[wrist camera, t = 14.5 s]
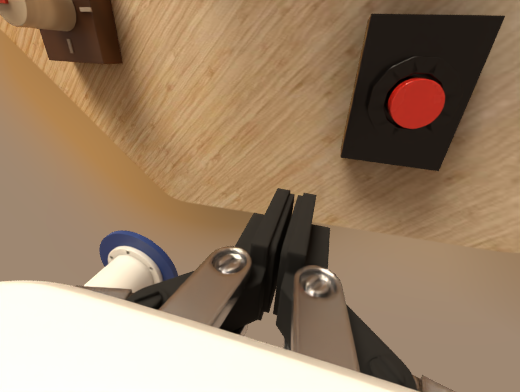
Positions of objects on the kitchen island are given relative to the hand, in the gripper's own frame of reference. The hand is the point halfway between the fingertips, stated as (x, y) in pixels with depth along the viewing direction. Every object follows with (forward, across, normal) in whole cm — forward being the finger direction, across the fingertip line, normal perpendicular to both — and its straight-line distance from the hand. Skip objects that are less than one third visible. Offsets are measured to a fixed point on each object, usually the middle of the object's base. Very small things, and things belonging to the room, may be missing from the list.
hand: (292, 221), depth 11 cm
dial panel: (+20, +29, -10) cm, 37 cm away
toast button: (+15, -7, -4) cm, 17 cm away
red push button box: (+20, -7, -4) cm, 21 cm away
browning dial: (+17, +29, -10) cm, 35 cm away
